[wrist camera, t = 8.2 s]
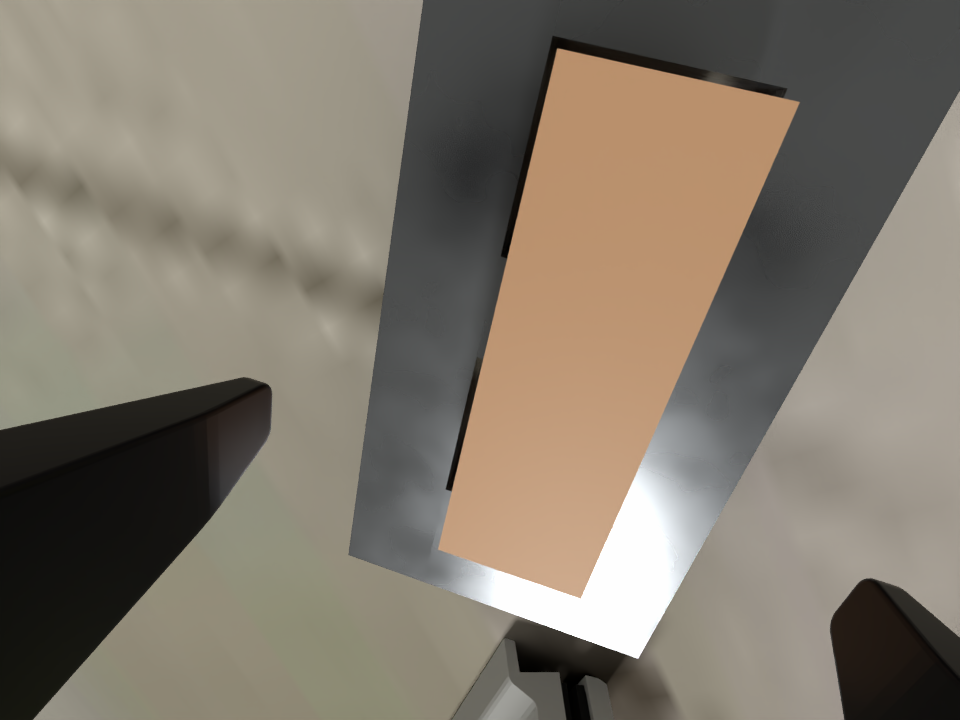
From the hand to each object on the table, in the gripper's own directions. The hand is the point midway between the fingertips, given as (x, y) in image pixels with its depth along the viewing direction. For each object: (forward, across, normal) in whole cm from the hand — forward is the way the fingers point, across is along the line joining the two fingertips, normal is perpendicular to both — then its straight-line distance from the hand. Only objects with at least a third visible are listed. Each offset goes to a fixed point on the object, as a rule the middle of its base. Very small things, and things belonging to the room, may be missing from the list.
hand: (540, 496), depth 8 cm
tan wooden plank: (+10, 0, 0) cm, 10 cm away
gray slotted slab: (+10, 0, 0) cm, 10 cm away
